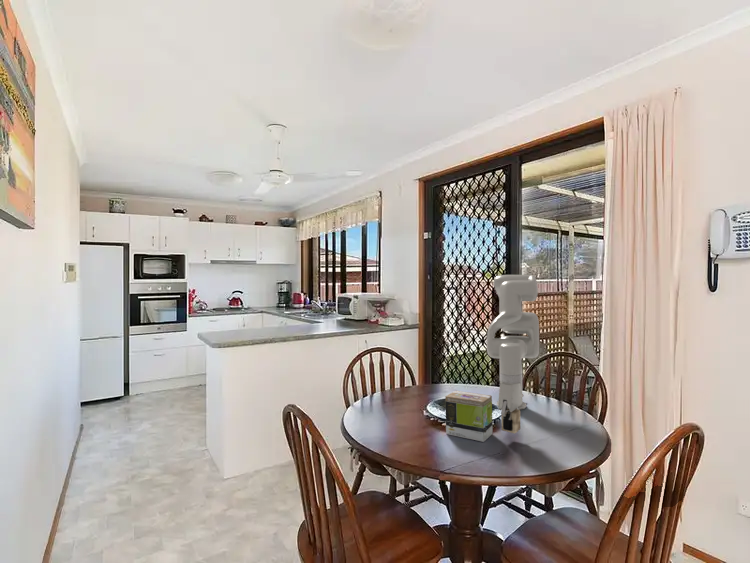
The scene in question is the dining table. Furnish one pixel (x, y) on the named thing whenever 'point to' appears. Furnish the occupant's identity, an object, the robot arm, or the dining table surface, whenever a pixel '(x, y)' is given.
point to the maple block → (513, 421)
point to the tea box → (469, 415)
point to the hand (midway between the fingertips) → (510, 426)
